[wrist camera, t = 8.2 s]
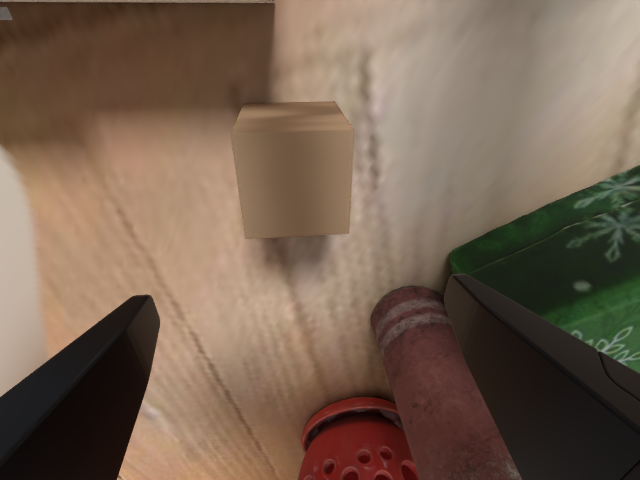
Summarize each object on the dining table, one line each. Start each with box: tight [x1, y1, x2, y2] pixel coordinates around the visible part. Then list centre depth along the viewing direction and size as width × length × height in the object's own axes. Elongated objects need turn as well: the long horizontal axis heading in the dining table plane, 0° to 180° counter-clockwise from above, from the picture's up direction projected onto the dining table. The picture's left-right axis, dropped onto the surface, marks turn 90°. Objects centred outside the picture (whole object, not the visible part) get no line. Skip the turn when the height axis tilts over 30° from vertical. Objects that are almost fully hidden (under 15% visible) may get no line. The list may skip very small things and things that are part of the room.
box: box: [450, 165, 640, 373], centre depth 28 cm, size 32×18×10 cm, turn 27°
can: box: [372, 286, 522, 480], centre depth 23 cm, size 6×6×14 cm
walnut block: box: [231, 101, 354, 239], centre depth 18 cm, size 5×5×6 cm
